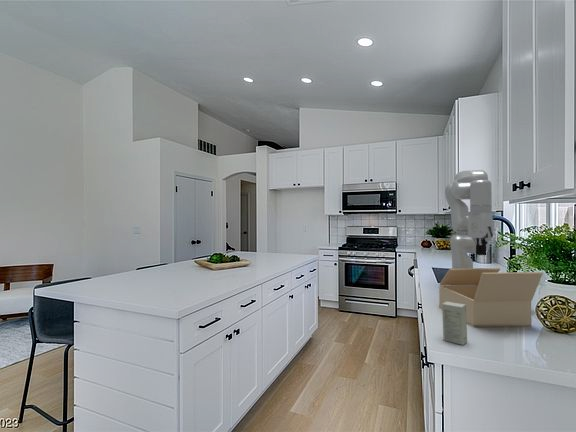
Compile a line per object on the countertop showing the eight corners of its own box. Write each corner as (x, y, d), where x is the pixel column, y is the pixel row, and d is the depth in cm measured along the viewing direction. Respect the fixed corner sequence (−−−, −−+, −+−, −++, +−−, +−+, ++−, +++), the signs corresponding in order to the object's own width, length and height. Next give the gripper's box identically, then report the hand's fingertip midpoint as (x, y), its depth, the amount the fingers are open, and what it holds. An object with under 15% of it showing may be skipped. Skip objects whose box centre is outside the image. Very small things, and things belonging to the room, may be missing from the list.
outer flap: (482, 272, 107) (483, 273, 107) (541, 272, 108) (542, 273, 107) (473, 300, 112) (474, 301, 112) (530, 299, 113) (531, 300, 112)
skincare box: (467, 341, 99) (467, 304, 99) (463, 345, 96) (463, 307, 96) (446, 336, 104) (446, 300, 104) (442, 339, 101) (441, 303, 101)
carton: (439, 307, 136) (439, 285, 136) (487, 306, 137) (487, 285, 137) (473, 327, 112) (473, 300, 112) (531, 326, 113) (531, 300, 113)
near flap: (500, 269, 128) (499, 268, 129) (450, 269, 128) (449, 268, 128) (486, 284, 137) (486, 283, 137) (439, 285, 136) (439, 284, 137)
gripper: (460, 210, 132) (461, 253, 131) (484, 209, 117) (484, 257, 116) (477, 210, 132) (478, 253, 132) (503, 209, 117) (503, 257, 117)
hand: (481, 254), depth 124 cm, fingers closed
